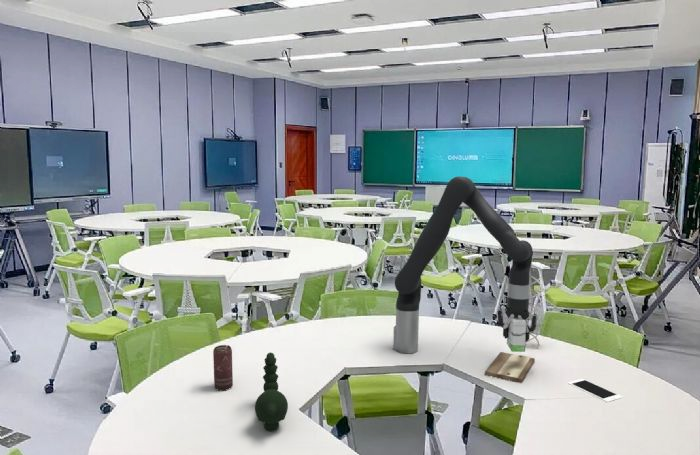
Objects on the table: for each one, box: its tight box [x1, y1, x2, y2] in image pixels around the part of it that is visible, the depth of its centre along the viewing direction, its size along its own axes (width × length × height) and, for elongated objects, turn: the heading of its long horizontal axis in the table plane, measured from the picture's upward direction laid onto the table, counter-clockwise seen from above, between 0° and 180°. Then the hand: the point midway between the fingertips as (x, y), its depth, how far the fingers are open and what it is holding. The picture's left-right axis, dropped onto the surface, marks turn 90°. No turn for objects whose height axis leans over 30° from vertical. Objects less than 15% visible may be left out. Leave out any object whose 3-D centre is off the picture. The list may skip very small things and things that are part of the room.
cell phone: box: [567, 378, 624, 403], centre depth 180 cm, size 8×16×1 cm, turn 27°
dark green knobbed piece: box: [254, 352, 289, 432], centre depth 158 cm, size 9×19×25 cm
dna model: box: [525, 274, 544, 349], centre depth 218 cm, size 7×6×30 cm
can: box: [212, 344, 234, 391], centre depth 179 cm, size 6×6×14 cm
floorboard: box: [484, 351, 536, 384], centre depth 198 cm, size 13×22×2 cm, turn 150°
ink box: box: [506, 317, 526, 353], centre depth 195 cm, size 9×5×12 cm, turn 176°
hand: (515, 339), depth 195 cm, fingers closed on ink box, 6 cm apart
